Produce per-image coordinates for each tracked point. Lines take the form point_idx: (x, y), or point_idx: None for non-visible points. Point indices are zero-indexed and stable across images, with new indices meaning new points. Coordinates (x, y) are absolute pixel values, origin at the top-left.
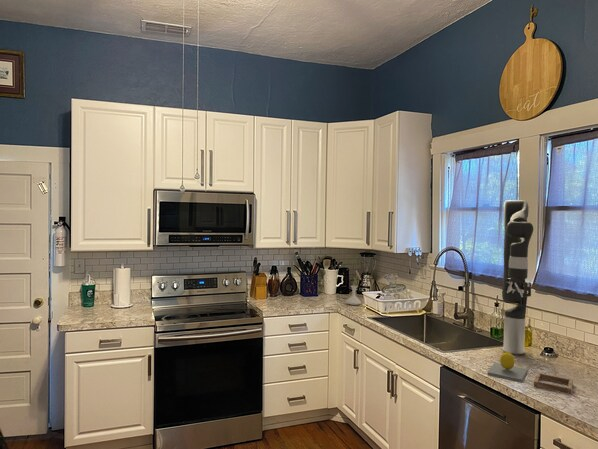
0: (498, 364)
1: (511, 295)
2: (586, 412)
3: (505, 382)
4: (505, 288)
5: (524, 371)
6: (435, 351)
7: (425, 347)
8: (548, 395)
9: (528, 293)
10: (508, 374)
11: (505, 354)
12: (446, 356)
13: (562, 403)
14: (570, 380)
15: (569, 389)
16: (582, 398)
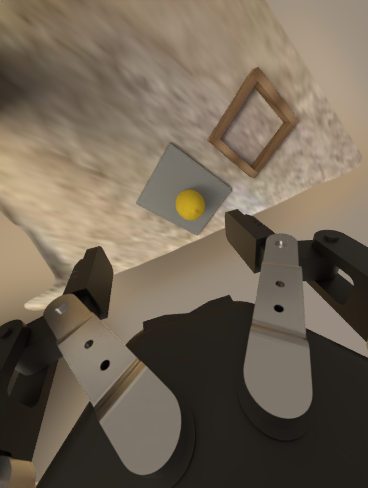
0: (149, 201)
1: (97, 289)
2: (344, 144)
3: None
4: (43, 381)
5: (188, 161)
6: None
7: None
8: (284, 170)
9: (331, 256)
10: (207, 204)
11: (198, 217)
12: None
13: (312, 164)
14: (262, 80)
15: (295, 123)
16: (310, 108)
